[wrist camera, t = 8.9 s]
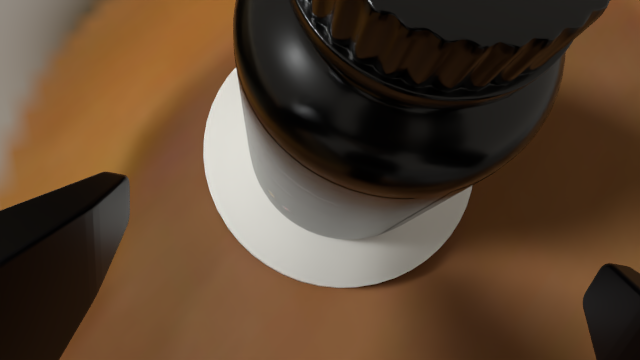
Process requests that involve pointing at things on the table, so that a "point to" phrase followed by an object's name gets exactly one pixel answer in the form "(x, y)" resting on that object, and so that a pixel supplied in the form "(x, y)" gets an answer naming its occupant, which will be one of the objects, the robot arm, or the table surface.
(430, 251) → the coaster
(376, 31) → the supplement bottle
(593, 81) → the table surface
